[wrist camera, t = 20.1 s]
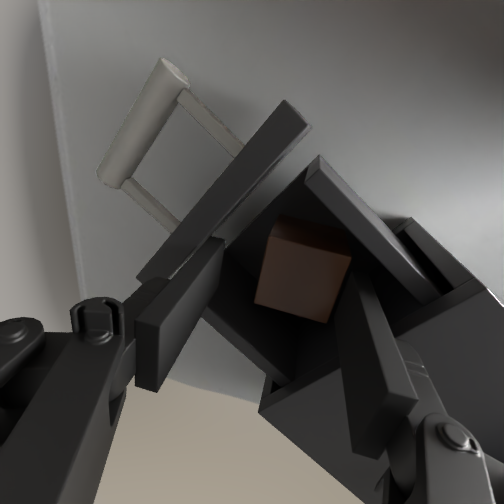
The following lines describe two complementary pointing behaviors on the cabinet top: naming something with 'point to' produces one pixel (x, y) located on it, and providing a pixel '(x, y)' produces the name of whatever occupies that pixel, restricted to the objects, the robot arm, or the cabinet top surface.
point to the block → (303, 268)
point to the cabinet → (435, 362)
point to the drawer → (261, 228)
